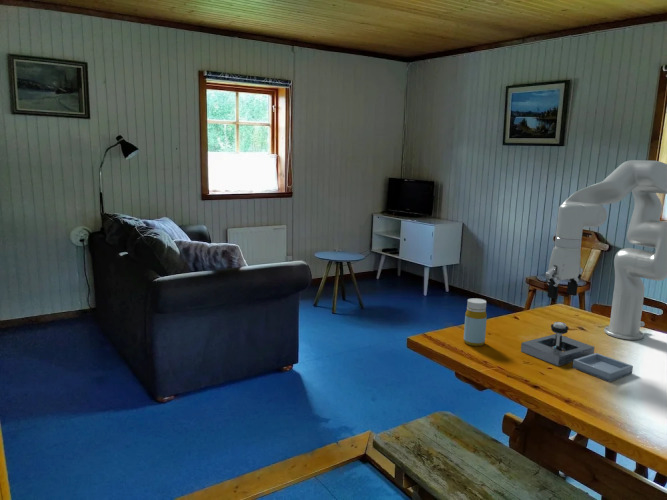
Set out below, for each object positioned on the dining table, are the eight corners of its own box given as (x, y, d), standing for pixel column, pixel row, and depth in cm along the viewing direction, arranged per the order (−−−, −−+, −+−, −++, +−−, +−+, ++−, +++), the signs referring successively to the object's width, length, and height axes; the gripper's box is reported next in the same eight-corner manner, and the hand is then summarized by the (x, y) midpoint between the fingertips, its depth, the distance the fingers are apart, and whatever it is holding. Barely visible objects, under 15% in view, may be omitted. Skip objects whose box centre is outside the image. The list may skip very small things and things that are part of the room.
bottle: (477, 348, 173) (480, 304, 170) (459, 342, 178) (462, 300, 175) (488, 343, 178) (491, 301, 175) (471, 337, 183) (474, 296, 180)
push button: (564, 358, 166) (567, 328, 164) (546, 355, 168) (549, 325, 166) (566, 351, 171) (569, 322, 170) (549, 348, 174) (552, 320, 172)
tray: (595, 360, 164) (596, 352, 164) (632, 373, 155) (633, 365, 154) (572, 367, 159) (573, 359, 158) (609, 381, 149) (610, 373, 148)
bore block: (555, 341, 180) (556, 333, 180) (593, 355, 168) (594, 346, 168) (520, 351, 171) (521, 342, 170) (558, 366, 159) (559, 357, 159)
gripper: (574, 240, 170) (568, 290, 173) (539, 243, 162) (534, 296, 165) (595, 243, 164) (589, 296, 167) (561, 247, 155) (554, 302, 158)
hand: (561, 296), depth 166 cm, fingers open, 9 cm apart
